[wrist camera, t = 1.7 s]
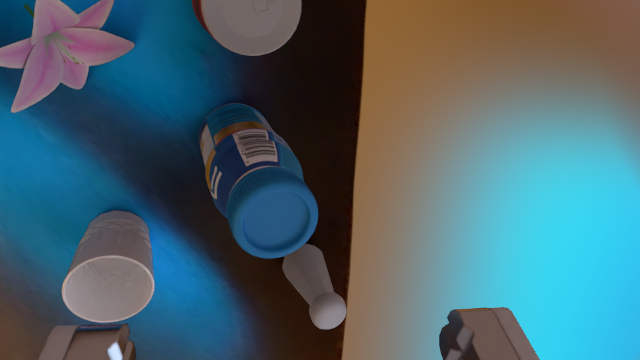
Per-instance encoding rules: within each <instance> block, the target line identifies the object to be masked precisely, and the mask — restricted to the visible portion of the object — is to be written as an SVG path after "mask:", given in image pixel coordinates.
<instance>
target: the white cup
mask: <svg viewBox="0 0 640 360" xmlns="http://www.w3.org/2000/svg"><path fill="white" fill-rule="evenodd" d="M154 287H155V285H154V272H153V257H152V248H151V243H150V238H149V228H148V226H147V225H146V224H145V222H144V221H143V219H142V218H140V217H139V216H137V215H135V214H133V213H131V212H127V211H117V210H114V211H111V212H107V213H103V214H100V215H99V216H98V217H96V218H95V219H94V220H92V221H91V222H90V223H89V225H88V228H87V230H86V232H85V234H84V237H83V238H82V239H81V241H80V243H79V245H78V247H77V250H76V252H75V255H74V257H73V260H72V262H71V265H70V267H69V270H68V273H67V275H66V278H65V280H64V283H63V286H62V297H63V300H64V303H65V304H66V306H67V307H68V309H69V310H70V311H71V312H73V313H74V314H75V315H77V316H79V317H81V318H83V319H86V320H89V321H93V322H103V323H106V322H116V321H120V320H124V319H127V318H129V317H131V316H133V315H135V314H137V313H138V312H140V311H141V310H142V309H143V308H144V307H145V306H146V305H147V304H148V303H149V301H150V300H151V298H152V296H153V293H154Z"/></svg>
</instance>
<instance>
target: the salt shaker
mask: <svg viewBox="0 0 640 360" xmlns="http://www.w3.org/2000/svg"><path fill="white" fill-rule="evenodd" d="M282 267H283V271H284V273H285V276H286V277H287V278H288V280H289V281H290V282H291V283H292V284H293V286H294V287H295V288H296V289H297V290H298V292H299V293H300V294H301V295H302V296H303V297H304V299H305V300H306V301H307V302H308V303H309V305H310V309H309V314H310V316H311V319H312V322H313V323H314V324H315V326H317V327H318V328H320V329H331V328H334V327H336V326H338V325H339V324H340V323H341V322H342V321H343V319H344V318H345V316H346V312H347V309H346V306H345V303H344V300H343V299H342V297H340V296H339V295H338V294H336V293H334V291H333V287H332V284H331V281H330V277H329V274H328V271H327V267H326V264H325V261H324V257H323V254H322V252H321V251H320V250H319V249H318V248H317V247H315V246H314V245H310V244H306V243H305V244H304V245H303V246H301V247H300V248H299V249H297V250H296V251H294V252H292V253H290V254H288V255H285V257H284V261H283V266H282Z"/></svg>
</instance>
